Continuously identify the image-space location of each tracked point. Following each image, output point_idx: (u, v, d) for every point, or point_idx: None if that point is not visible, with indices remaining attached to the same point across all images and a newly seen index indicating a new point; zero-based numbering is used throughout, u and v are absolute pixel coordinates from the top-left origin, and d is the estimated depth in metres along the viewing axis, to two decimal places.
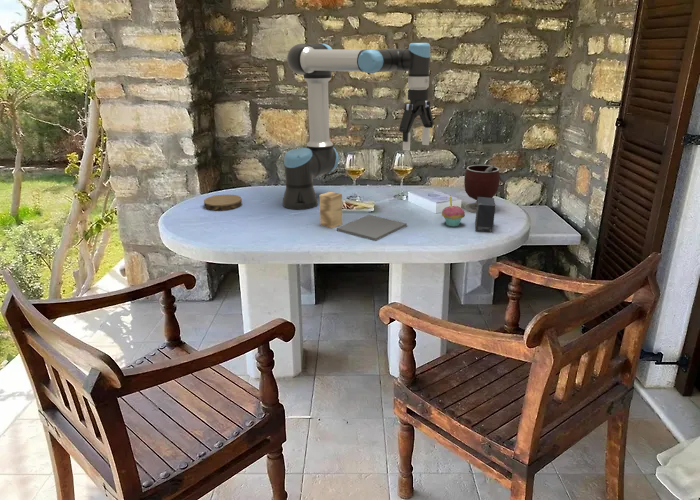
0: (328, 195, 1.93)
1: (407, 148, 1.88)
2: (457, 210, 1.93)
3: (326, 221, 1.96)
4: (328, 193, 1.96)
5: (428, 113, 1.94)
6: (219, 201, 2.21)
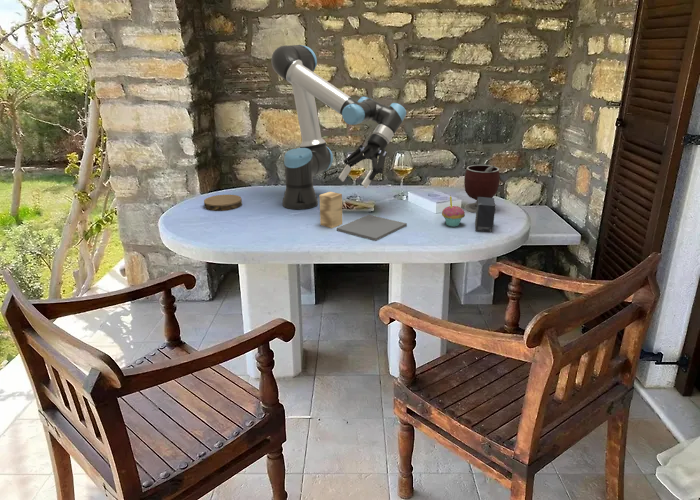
0: (328, 195, 1.93)
1: (366, 185, 1.95)
2: (457, 210, 1.93)
3: (326, 221, 1.96)
4: (328, 193, 1.96)
5: None
6: (219, 201, 2.21)
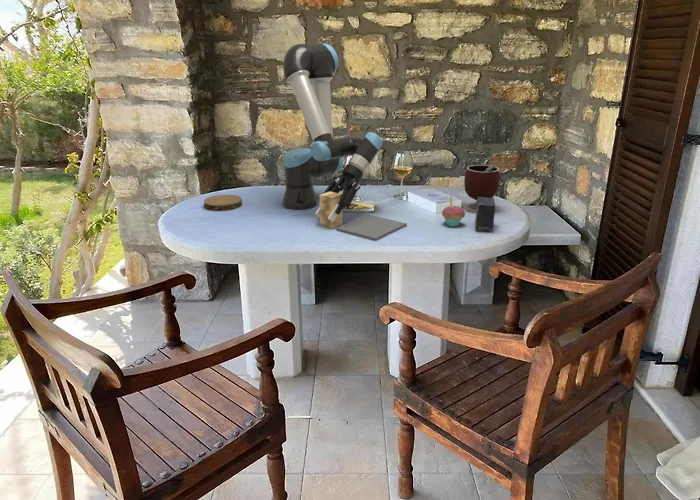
0: (328, 195, 1.93)
1: (333, 219, 1.93)
2: (457, 210, 1.93)
3: (326, 221, 1.96)
4: (328, 193, 1.96)
5: (333, 189, 2.02)
6: (219, 201, 2.21)
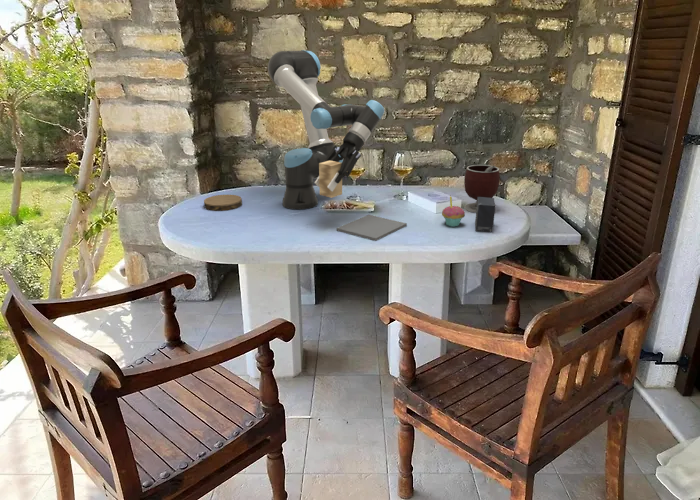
0: (328, 163, 1.89)
1: (332, 188, 1.89)
2: (457, 210, 1.93)
3: (325, 190, 1.91)
4: (328, 162, 1.91)
5: None
6: (219, 201, 2.21)
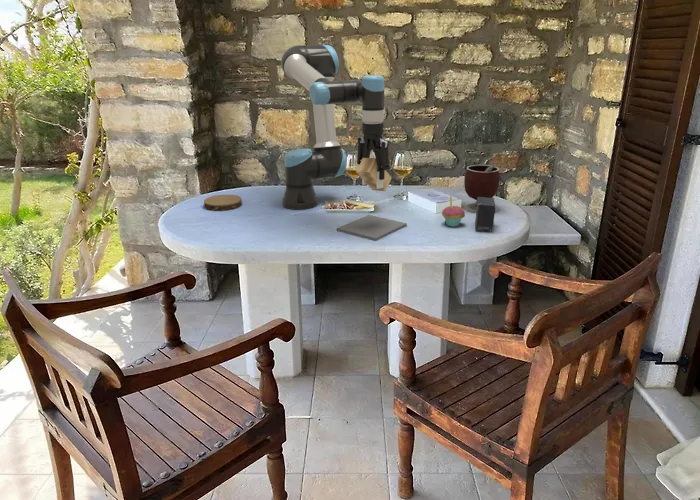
0: (364, 168, 1.83)
1: (382, 185, 1.86)
2: (457, 210, 1.93)
3: None
4: (363, 163, 1.85)
5: (363, 149, 1.88)
6: (219, 201, 2.21)
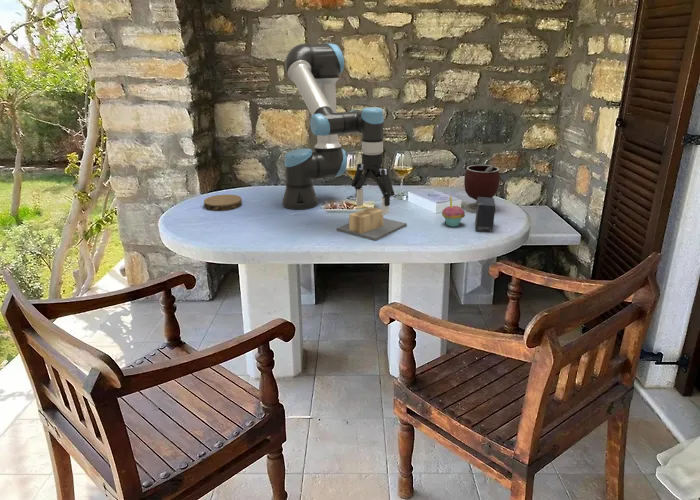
0: (355, 227, 1.87)
1: (387, 211, 1.87)
2: (457, 210, 1.93)
3: None
4: (351, 221, 1.88)
5: (360, 175, 1.93)
6: (219, 201, 2.21)
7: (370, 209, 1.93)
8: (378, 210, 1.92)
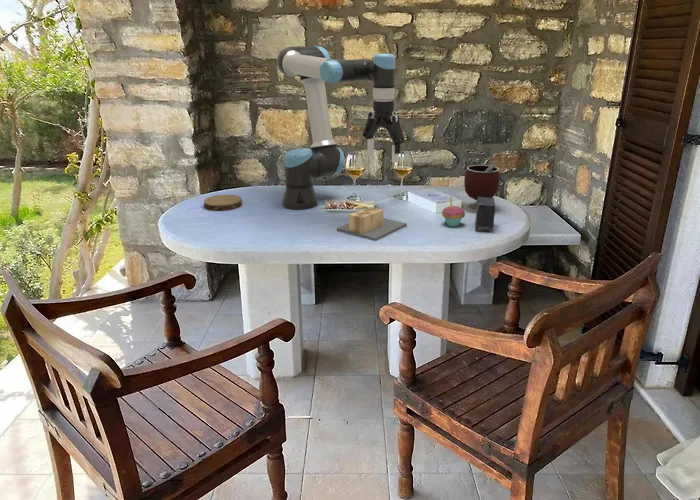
0: (355, 227, 1.87)
1: (397, 159, 1.87)
2: (457, 210, 1.93)
3: None
4: (351, 221, 1.88)
5: (372, 124, 1.93)
6: (219, 201, 2.21)
7: (370, 209, 1.93)
8: (378, 210, 1.92)
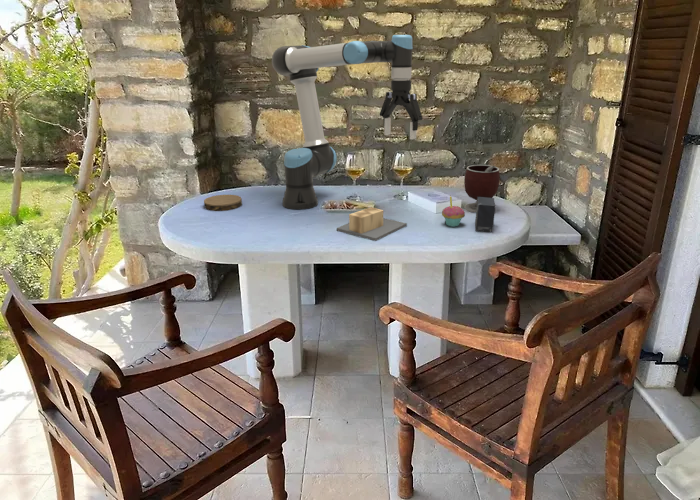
0: (355, 227, 1.87)
1: (415, 136, 1.96)
2: (457, 210, 1.93)
3: None
4: (351, 221, 1.88)
5: (389, 103, 2.01)
6: (219, 201, 2.21)
7: (370, 209, 1.93)
8: (378, 210, 1.92)
